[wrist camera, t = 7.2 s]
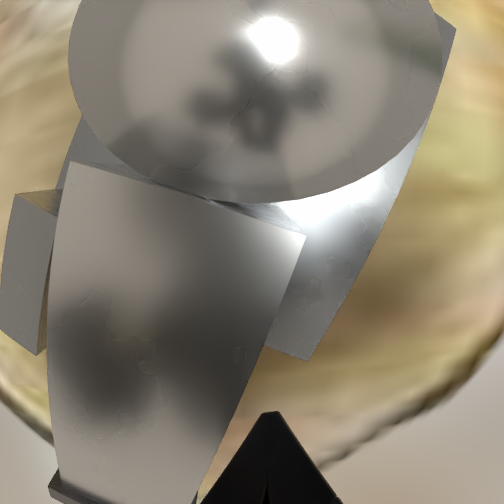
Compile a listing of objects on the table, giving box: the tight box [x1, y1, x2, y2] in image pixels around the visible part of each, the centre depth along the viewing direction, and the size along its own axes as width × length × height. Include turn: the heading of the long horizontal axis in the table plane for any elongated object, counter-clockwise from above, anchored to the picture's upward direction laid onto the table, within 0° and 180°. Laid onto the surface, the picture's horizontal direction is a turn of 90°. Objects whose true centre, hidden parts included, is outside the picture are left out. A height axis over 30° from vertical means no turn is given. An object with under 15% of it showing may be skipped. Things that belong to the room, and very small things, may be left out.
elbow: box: [47, 0, 443, 504], centre depth 7 cm, size 16×6×5 cm, turn 161°
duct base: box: [0, 13, 456, 361], centre depth 8 cm, size 16×12×6 cm
